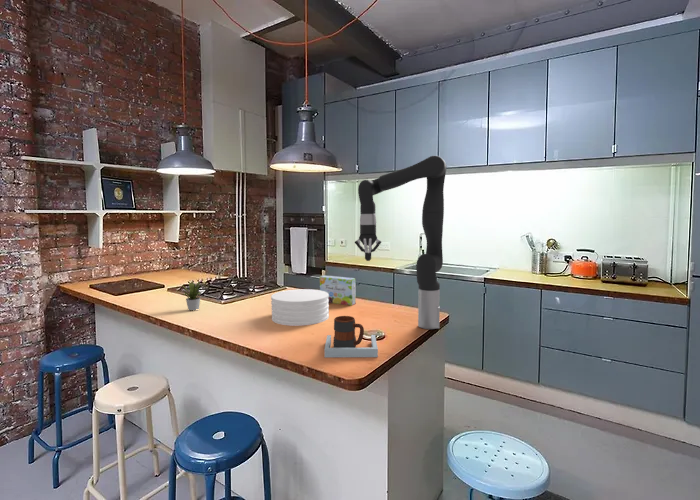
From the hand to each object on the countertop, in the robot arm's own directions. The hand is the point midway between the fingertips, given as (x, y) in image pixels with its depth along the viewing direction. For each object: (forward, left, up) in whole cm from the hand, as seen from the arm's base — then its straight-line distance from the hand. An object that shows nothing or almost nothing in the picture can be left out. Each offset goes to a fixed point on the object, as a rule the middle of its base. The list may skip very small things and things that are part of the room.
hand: (368, 260), depth 177 cm
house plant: (+94, -6, -29) cm, 99 cm away
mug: (+3, +38, -29) cm, 48 cm away
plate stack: (+34, -1, -29) cm, 45 cm away
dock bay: (+2, +38, -29) cm, 48 cm away
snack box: (+22, -33, -29) cm, 49 cm away
